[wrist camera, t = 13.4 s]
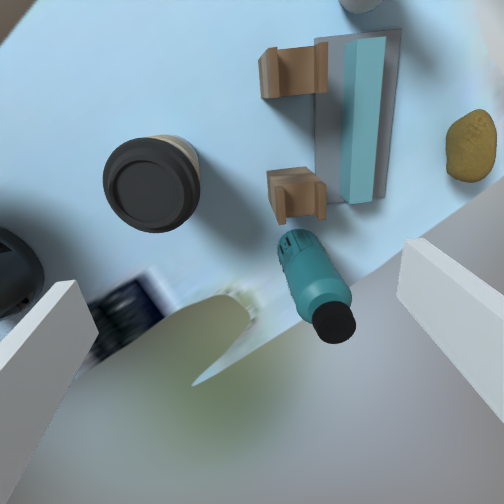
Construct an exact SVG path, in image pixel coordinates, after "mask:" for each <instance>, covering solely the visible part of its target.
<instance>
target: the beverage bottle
mask: <svg viewBox="0 0 504 504" xmlns="http://www.w3.org/2000/svg"><path fill="white" fill-rule="evenodd" d="M316 237H317V236H315V235H314V234H313V233H311V232H310V231H307V230H304V229H294V230H291V231H289V232H287V233H286V234H284V235H283V236H282V238H281V239H280V241H279V244H278V245H277V246H278V248H277V251H278V256H279V258H280V259H279V261H281V263H280V264H282V269H283V272H284V274H285V276H286V279H287V282H288V285H289V286H288V287H289V288H290V291H291V292H290V293H291V294H290V295H291V296H293V297H292V298H293V299H294V301H295V304H296V309H297V312H298V314H299V315H300V317H301V318H302V319H303V320H305V321H306V322H308V323H311V324H313V327H314V329H315V330H316V332H317V334H318V336H319V337H320V339H321V340H323V341H324V342H326V343H330V344H338V343H342V342H344V341H346V340H348V339H349V338H350V337H351V336H352V335H353V334H354V332H355V329H356V322H355V319H354V317H353V314H352V312H351V310H350V306H351V302H352V294H351V291H350V289H349V287H348V286H347V285H346V284H345V282H344V281H343V279H342V278H341V276H340V274H339V273H338V271H337V270H336V268H335V267H334V265H333V264H332V262H331V260H332V259H331V260H330V258H329V257H328V255H327V254H328V253H326V252H325V251H326V250H324V249H323V248H324V247H323V246H321V243H319V241H318V240H319V239H317V238H316Z"/></svg>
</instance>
